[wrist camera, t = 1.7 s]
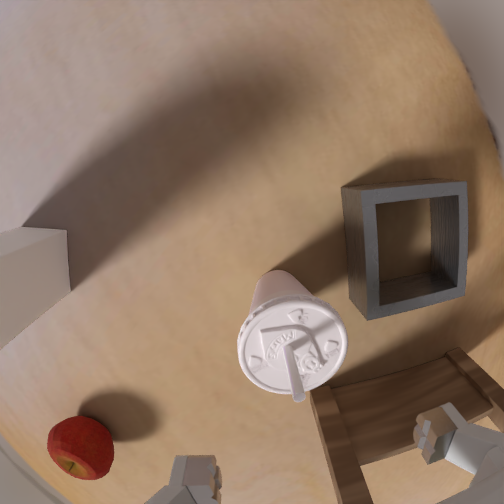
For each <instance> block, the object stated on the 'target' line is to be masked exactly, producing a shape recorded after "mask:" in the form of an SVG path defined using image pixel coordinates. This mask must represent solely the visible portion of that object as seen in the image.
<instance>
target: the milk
mask: <svg viewBox="0 0 504 504" xmlns="http://www.w3.org/2000/svg"><path fill="white" fill-rule="evenodd" d="M70 292H71V289H70V278H69V266H68V250H67V230H61V229H46V228H31V227H18V228H15V229H12V230H9V231H6V232H3V233H0V350H1V349H2V348H3V347H4V346H5V345H7V344H8V343H9V342H10V341H11V340H12V339H14V338H15V337H16V336H17V335H18V334H19V333H21V332H22V331H23V330H24V329H25V328H27V327H28V326H29V325H30V324H31V323H33V322H34V321H35V320H36V319H38V318H39V317H40V316H41V315H42V314H44V313H45V312H46V311H47V310H49V309H50V308H51V307H52V306H54V305H55V304H56V303H57V302H59V301H60V300H61V299H63V298H64V297H65V296H66V295H68V294H69V293H70Z"/></svg>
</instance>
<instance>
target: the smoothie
mask: <svg viewBox="0 0 504 504" xmlns="http://www.w3.org/2000/svg"><path fill="white" fill-rule="evenodd" d="M237 344H238V357H239V362H240V365H241V368H242V370H243V372H244V373H245V375H246V376H247V377H248V378H249V379H250V380H251V381H252V382H253V383H254V384H255V385H257V386H259V387H260V388H262V389H264V390H267V391H270V392H274V393H279V394H292V396H293V400H294V401H296V402H301V401H303V400H304V399H305V397H306V396H305V391H309V390H311V389H314V388H316V387H318V386H320V385H322V384H323V383H325V382H326V381H327V380H329V379H330V378H331V377H332V376H333V375H334V374H335V373H336V372H337V370H338V369H339V368H340V366H341V365H342V363H343V361H344V359H345V356H346V353H347V348H348V336H347V331H346V328H345V326H344V323H343V322H342V320H341V318H340V316H339V314H338V312H337V311H336V310H335V309H334V308H333V307H332V306H331V305H330V304H329V303H327V302H325V301H323V300H321V299H319V298H317V297H314V296H313V295H312V294H311V293H310V292H309V291H308V290H307V289H306V288H305V287H304V286H303V285H302V284H301V283H300V282H299V281H298V280H297V279H296V278H295V277H294V276H293V275H291V274H290V273H288V272H286V271H283V270H273V271H270V272H268V273H266V274H264V275H263V276H262V277H261V278H260V279H259V280H258V282H257V284H256V287H255V292H254V296H253V300H252V304H251V308H250V312H249V316H248V317H247V319H246V320H245V322H244V323H243V325H242V327H241V329H240V333H239V336H238V340H237Z"/></svg>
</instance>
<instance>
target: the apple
mask: <svg viewBox="0 0 504 504" xmlns="http://www.w3.org/2000/svg"><path fill="white" fill-rule="evenodd" d="M47 449H48V452H49V454H50V456H51V458H52V459H53V461H54V462H55V463H56V464H57V465H58V466H59V467H60V468H61V469H62V470H64V471H65V472H66V473H68V474H70V475H71V476H73V477H75V478H79V479H83V480H97V479H99V478H102V477H103V476H105V475H106V474H107V473H108V472H109V470H110V467H111V465H112V462H113V460H114V446H113V441H112V437H111V434H110V432H109V431H108V430H107V428H106V427H104V426H103V425H102V424H100V423H99V422H97V421H95V420H93V419H91V418H88V417H84V416H74V417H71V418H67V419H65V420H64V421H62V422H60V423H58V424H56V425H55V426H54V427H53V428H52V429H51V431H50V432H49V435H48V443H47Z"/></svg>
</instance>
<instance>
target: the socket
mask: <svg viewBox="0 0 504 504" xmlns="http://www.w3.org/2000/svg"><path fill="white" fill-rule="evenodd" d="M341 195H342V204H343V214H344V224H345V236H346V249H347V264H348V281H349V299H350V300H351V301H352V302H353V304H354V305H355V306H356V307H357V309H358V310H359V311H360V312H361V314H362V315H363V316H364V317H365V319H366V320H367V321H368V320H372V319H377V318H381V317H385V316H390V315H394V314H398V313H402V312H406V311H410V310H414V309H418V308H422V307H426V306H429V305H433V304H437V303H440V302H444V301H447V300H451V299H454V298H458V297H461V296H465V287H466V274H467V256H468V197H467V181H459V180H448V179H424V180H412V181H400V182H389V183H379V184H369V185H359V186H350V187H341ZM423 198H430V212H431V271H430V272H425V273H421V274H416V275H411V276H407V277H402V278H397V279H392V280H387V281H382V282H379V259H378V237H377V221H376V208H375V204H379V203H387V202H396V201H405V200H413V199H423Z"/></svg>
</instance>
